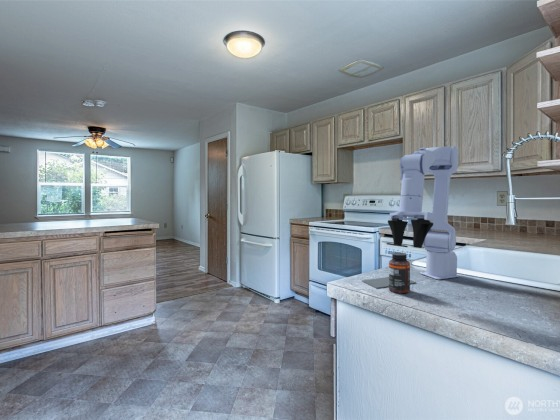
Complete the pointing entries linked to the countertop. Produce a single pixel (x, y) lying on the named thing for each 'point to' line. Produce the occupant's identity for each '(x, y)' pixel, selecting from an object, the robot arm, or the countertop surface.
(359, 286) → the countertop surface
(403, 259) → the supplement bottle
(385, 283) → the mat
